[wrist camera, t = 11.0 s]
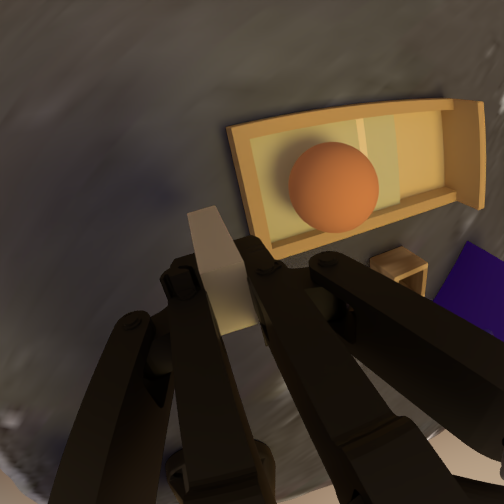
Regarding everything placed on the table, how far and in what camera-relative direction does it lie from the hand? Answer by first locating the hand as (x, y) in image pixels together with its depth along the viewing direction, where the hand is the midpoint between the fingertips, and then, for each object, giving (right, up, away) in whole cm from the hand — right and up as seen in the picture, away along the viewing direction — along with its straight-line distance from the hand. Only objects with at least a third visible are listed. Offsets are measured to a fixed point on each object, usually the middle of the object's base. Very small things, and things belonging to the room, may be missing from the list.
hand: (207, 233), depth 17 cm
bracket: (+33, -7, +21) cm, 40 cm away
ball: (+8, +3, +4) cm, 9 cm away
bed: (+11, +6, +8) cm, 15 cm away
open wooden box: (+16, -3, +13) cm, 20 cm away
